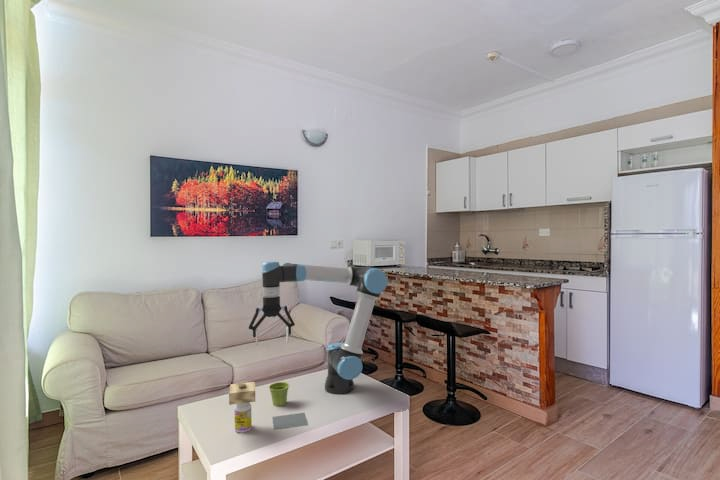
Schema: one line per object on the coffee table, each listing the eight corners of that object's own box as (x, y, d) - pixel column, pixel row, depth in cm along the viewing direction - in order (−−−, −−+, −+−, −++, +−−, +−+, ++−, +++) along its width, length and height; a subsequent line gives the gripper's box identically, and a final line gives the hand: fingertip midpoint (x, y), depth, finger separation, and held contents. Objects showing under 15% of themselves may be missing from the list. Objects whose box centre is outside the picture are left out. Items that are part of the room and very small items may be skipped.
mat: (304, 413, 176) (304, 412, 176) (308, 425, 165) (308, 424, 165) (272, 417, 172) (272, 416, 172) (273, 430, 161) (273, 429, 161)
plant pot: (285, 409, 180) (284, 390, 180) (265, 407, 182) (265, 389, 182) (292, 400, 190) (292, 382, 189) (274, 399, 192) (273, 381, 191)
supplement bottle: (231, 431, 161) (230, 400, 160) (241, 424, 167) (241, 394, 167) (245, 434, 158) (244, 402, 158) (255, 426, 164) (254, 396, 164)
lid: (255, 392, 168) (255, 379, 168) (255, 401, 159) (255, 388, 159) (230, 394, 166) (230, 382, 166) (229, 404, 156) (228, 391, 156)
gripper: (242, 299, 172) (243, 347, 172) (300, 295, 178) (301, 342, 179) (242, 296, 179) (243, 343, 179) (298, 293, 185) (299, 338, 186)
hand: (272, 343), depth 179 cm, fingers open, 13 cm apart
